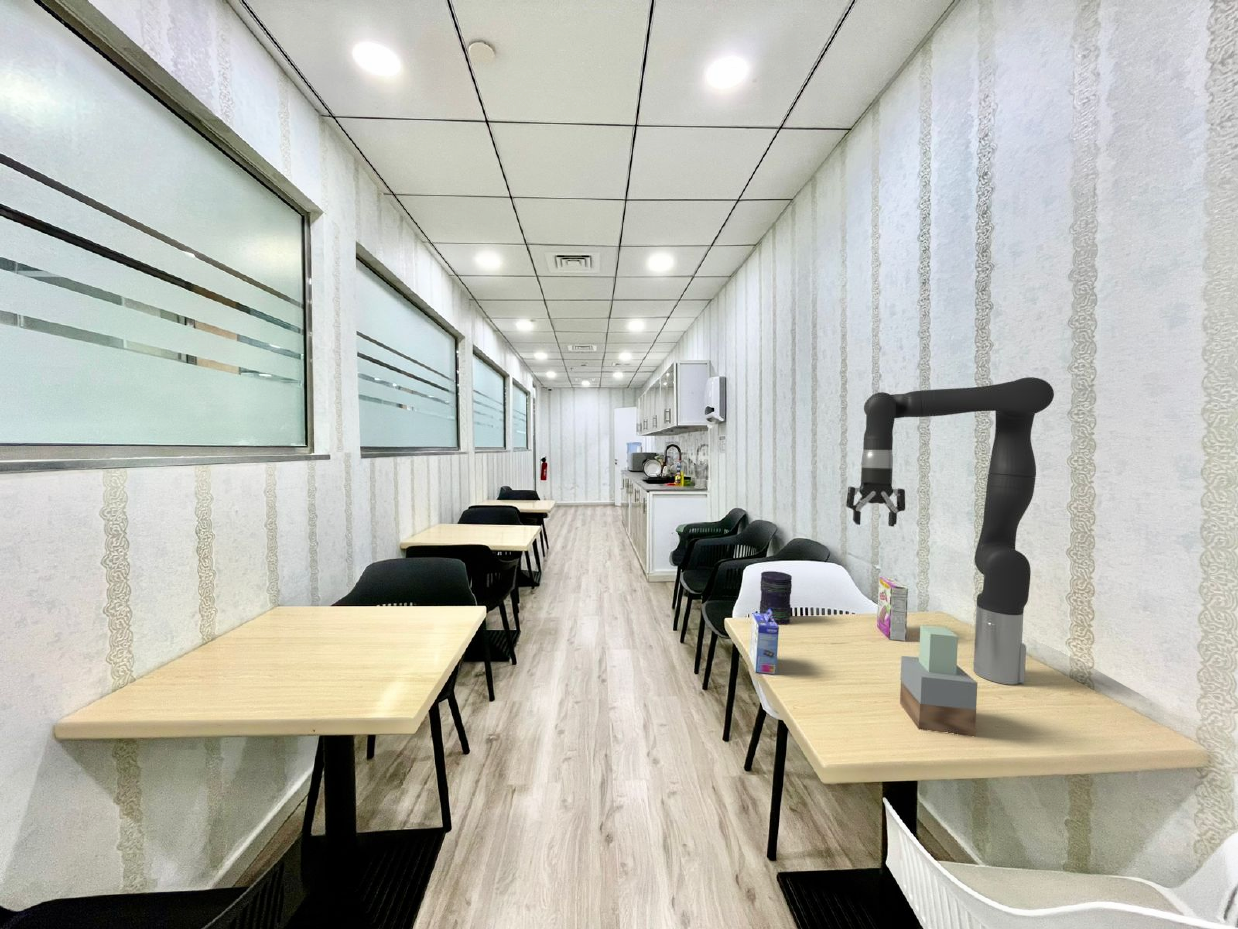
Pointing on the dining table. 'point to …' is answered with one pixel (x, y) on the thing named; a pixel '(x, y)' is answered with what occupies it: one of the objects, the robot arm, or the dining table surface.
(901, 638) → the candy bar box
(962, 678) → the tower top
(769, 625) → the ink cartridge box
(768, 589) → the storage jar
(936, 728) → the tower base
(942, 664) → the sage block
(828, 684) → the dining table surface
